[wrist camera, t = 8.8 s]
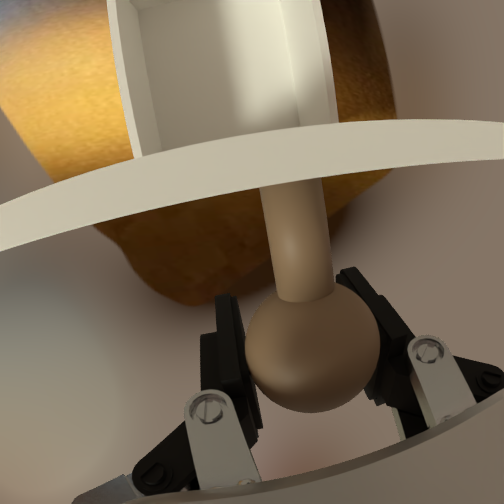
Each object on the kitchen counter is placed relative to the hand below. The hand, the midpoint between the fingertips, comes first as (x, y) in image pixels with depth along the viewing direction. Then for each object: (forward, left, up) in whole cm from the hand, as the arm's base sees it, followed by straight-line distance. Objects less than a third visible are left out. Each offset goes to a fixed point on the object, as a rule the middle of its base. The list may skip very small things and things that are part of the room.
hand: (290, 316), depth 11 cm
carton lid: (-5, 0, -4) cm, 6 cm away
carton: (-11, 0, -21) cm, 24 cm away
